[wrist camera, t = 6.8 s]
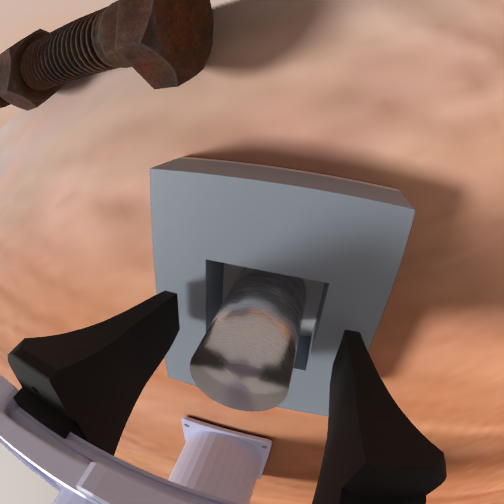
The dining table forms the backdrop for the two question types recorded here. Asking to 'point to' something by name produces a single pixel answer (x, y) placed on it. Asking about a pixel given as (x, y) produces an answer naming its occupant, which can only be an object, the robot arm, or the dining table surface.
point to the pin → (252, 342)
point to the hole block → (276, 254)
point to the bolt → (110, 48)
